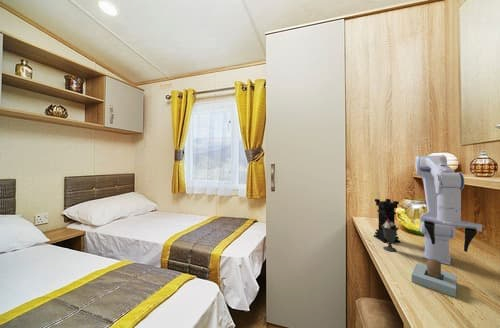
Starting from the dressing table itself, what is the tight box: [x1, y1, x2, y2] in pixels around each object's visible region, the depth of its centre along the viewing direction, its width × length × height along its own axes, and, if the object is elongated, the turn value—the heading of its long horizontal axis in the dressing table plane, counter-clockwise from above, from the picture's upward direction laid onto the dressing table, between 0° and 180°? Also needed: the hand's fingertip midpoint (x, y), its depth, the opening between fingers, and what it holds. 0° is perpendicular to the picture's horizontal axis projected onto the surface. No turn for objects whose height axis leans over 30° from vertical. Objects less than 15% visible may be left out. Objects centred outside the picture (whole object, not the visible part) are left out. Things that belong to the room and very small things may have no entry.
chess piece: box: [373, 198, 401, 244], centre depth 98 cm, size 8×8×20 cm
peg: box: [426, 259, 442, 280], centre depth 64 cm, size 3×3×7 cm
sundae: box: [381, 215, 400, 253], centre depth 87 cm, size 7×7×15 cm
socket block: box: [411, 263, 458, 298], centre depth 63 cm, size 10×10×2 cm
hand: (448, 246), depth 66 cm, fingers open, 7 cm apart
